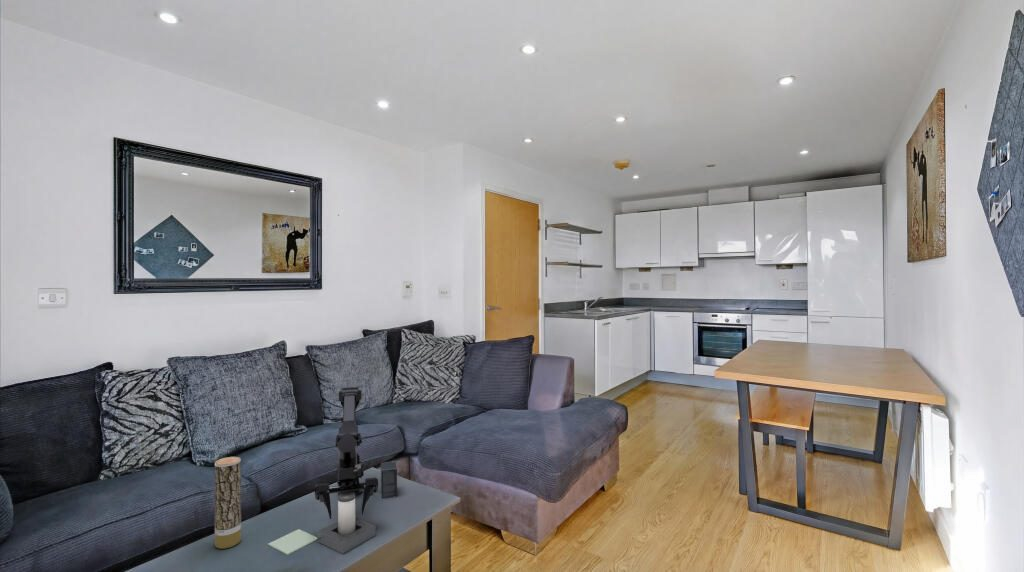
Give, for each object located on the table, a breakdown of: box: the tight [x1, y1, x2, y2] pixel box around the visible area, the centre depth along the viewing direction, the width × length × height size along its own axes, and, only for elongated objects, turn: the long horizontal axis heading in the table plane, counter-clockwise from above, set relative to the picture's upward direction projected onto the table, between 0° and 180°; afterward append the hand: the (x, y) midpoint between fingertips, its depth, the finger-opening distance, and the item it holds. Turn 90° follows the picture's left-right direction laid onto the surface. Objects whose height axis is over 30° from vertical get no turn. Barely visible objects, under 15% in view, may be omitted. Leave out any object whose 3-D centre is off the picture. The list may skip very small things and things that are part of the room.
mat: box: [267, 528, 317, 556], centre depth 142 cm, size 10×10×1 cm
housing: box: [316, 517, 377, 555], centre depth 144 cm, size 12×12×3 cm
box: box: [380, 460, 398, 499], centre depth 176 cm, size 8×6×11 cm
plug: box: [337, 492, 356, 537], centre depth 144 cm, size 5×5×13 cm
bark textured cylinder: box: [214, 456, 242, 550], centre depth 142 cm, size 7×7×25 cm
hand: (346, 516), depth 143 cm, fingers open, 9 cm apart
